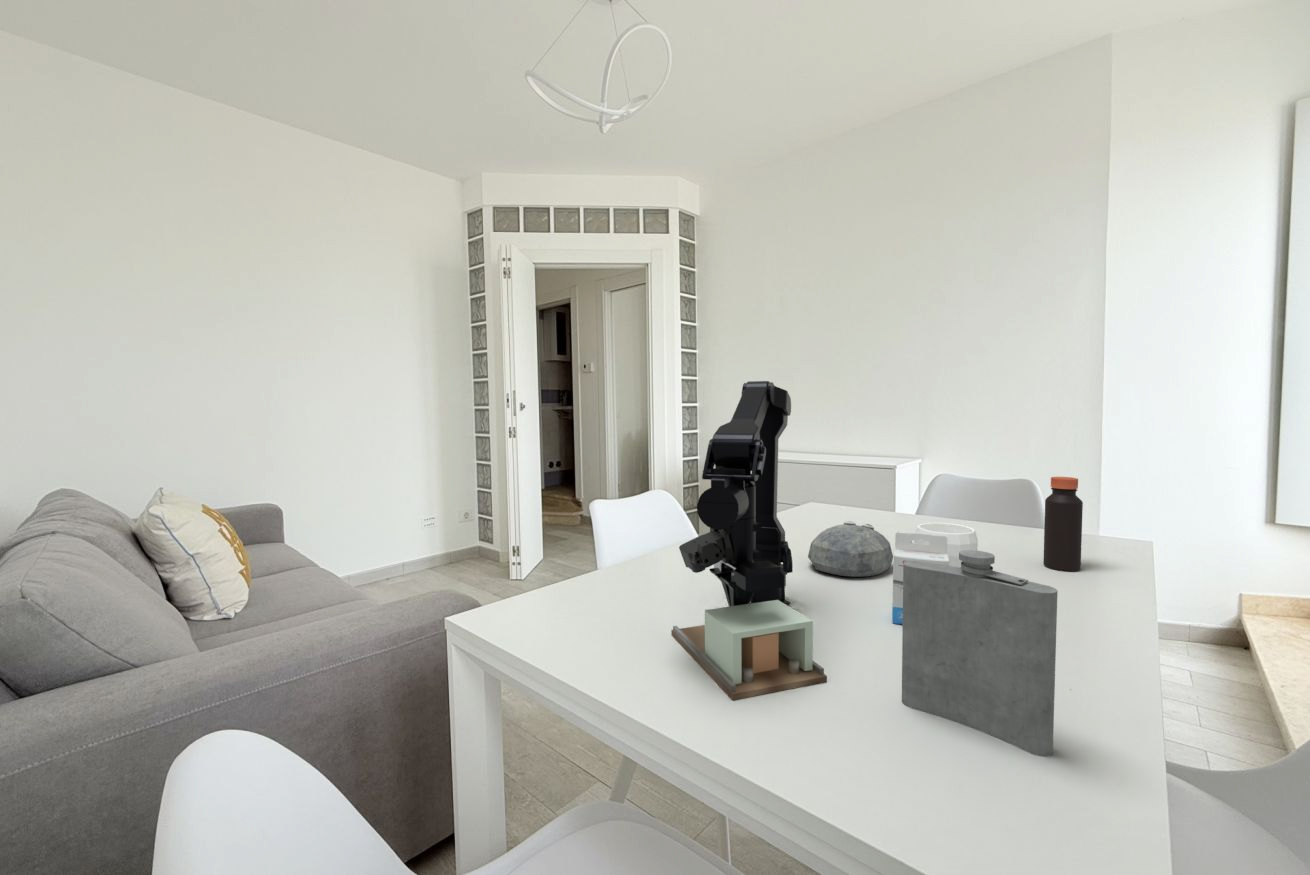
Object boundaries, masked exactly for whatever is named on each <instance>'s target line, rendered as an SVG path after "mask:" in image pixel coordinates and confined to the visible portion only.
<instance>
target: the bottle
mask: <svg viewBox="0 0 1310 875" xmlns="http://www.w3.org/2000/svg"><path fill="white" fill-rule="evenodd" d="M1078 489H1079V478H1077V477H1071V476H1052V477H1050V490H1051V491H1052V492H1051V493H1050V495H1048V496H1047V497H1046V498H1045V500H1044V530H1043V531H1044V532H1043V533H1044V536H1043V561H1042V562H1043V566H1044V567H1045V568H1048V567H1049V568H1048V569H1051V568H1052V569H1051V570H1055V569H1056V570H1055V571H1060V570H1063V571H1062V572H1078V571H1080V570H1081V568H1082V536H1083V534H1082V533H1083V511H1084V510H1083V508H1084V506H1083V505H1084V502H1083V501H1082V499H1081V498H1079V496H1078V495H1077V492H1078Z"/></svg>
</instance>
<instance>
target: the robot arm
mask: <svg viewBox="0 0 1310 875" xmlns="http://www.w3.org/2000/svg"><path fill="white" fill-rule="evenodd" d="M791 412H792V398H791V396H790V394H789V392H788V390H786V389H783V388H781V387H779V386H776V385H775V384H774V382H770V381H768V380H759V381H757V380H755V381H754V380H753V381H751V380H750V381H747V382H743V384H742V388H741V396H740V399H739V401H738V404H737V405H736V409H735V410H734V412H733V414H732V417H731V420H730V421H729V422H726V423H724V424H722V425H720V426H719V427H718V428H717V430H715V432H714V434H713V436H712V438H711V439H710V440H709V442H708V444H707V450H706V455H705V460H704V463H703V464H704V465H703V470H702V476H701V478H702V480H704V481H705V480H706V481H707V480H709V481H710V487H709V488H707V489H706V490H704V491H703V492H702V493H701V495H699V497H698V500H697V504H696V510H697V515H698V518H699V519H700V521H701V522H702V523H703V524H704V525H705V526H706V527H708V528H709V532H706V533H704V534H701V535H699V536H697V537H695V538H692V539H690V540H688V541H687V542H684V543H682V544H681V545H679V548H678V549H679V551H680V554H681V557H682V560H683V562H684V565H685V567H686V568H689V569H690V570H691V571H692V573H696V574H698V573H701V572H704V571H705V570H706V569H707V568H709V571H710V573H712V574H713V575H714V577H715V578H717V579H718V580H719V581H720V582H721V585H722V588H723V591H724V593H725V599H726V602H727V604H728V607H730V606H737V605H744V604H751V603H758V602H766V601H773V600H779V601H781V602H782V603H784V604H786V605H787V606H789V605H790V603H791V602H790V601H789V600H787V599H786V586H787V575H788V574H790V573H793V570H794V569H793V564H794V563H793V556H792V550H791V548H790V547H789V542H788V541H787V540H786V531H785V529H784V527H783V526H782V524H781V522H780V520H779V518H778V515H777V514H778V513H777V512H778V474H779V473H778V471H779V439H780V437H781V435H782V434H783V433H784V431H785V429H786V427H787V426H788V421H789V420H788V418H789V417H788V416H791ZM714 467H715V468H714ZM712 566H713V568H710V567H712Z"/></svg>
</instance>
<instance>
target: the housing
mask: <svg viewBox="0 0 1310 875" xmlns="http://www.w3.org/2000/svg"><path fill="white" fill-rule="evenodd" d="M813 623H814V621H813V620H812V619H811V618H809V617H807V616H806V615H804V614H802V613H800V612H798V611H797V610H795V609H794V608H792V607H790V606H789V605H786V604H784V603H782V602H781V601H779V600H773V601H766V602H758V603H748V604H744V605H737V606H730V607H729V606H723V607H717V608H710V609H704V625H705V655H706V656H707V657H708V658H709V659H710V660H711V661H712V662H713V663H714V664H715V665H716V666H717V667H718V668H719V669H720V670H721V671H722V672H723V673H724V674H725V675H726V676H727V677H728V678H729V679H730V680H731V681H732V682H733V683H734V684H740V683H742V666H741V638H746V637H752V636H758V635H764V634H771V633H779V652H781V653H782V654H783V655H785V656H786V657H787V658H788V659H797V660H798V661H799V667H800V668H802V669H803V670H804V671H809V670H813V661H814V659H813V658H814V656H813V655H814V652H813V651H814V650H813V649H814V647H813V643H814V639H813V637H814V630H813V629H814V626H813V625H814V624H813Z"/></svg>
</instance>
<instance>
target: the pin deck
mask: <svg viewBox="0 0 1310 875" xmlns="http://www.w3.org/2000/svg"><path fill="white" fill-rule="evenodd" d="M670 630H671V631H670V632H671V636H672V637H673V638H674V639H675V640H676V641H677V642H678V644H679V645H680V646H681V647H682V648H683V649H684V650H685V651H686V652H687V653H688V654H689V655H690V656H691V658H692V659H694V661H695V662H696V663H697V664H698V665H699V666H700V668H702V669H703V670H704V672H705V673H706V674H707V675H708V676H709V677H710V678H711V679H712V680H713V681H714V682H715V683H716V684H717V686H718V687H720V689H722V690H723V692H724V693H725V694H726V695H727V696H728V697H729V698H730V699H731V700H732V701H735V700H736V701H737V700H741V699H747V698H751V697H756V696H757V697H758V696H762V695H767V694H771V693H777V692H782V691H786V690H790V689H792V690H793V689H796V688H801V687H807V686H811V685H817V684H822V683H827V682H828V680H827V679H828V676H827V675H826V674H825V668H824V667H823V666H821V665H820V664H818V663H817V662H816V661H814V660H813V670H809V671H804V670H803V669H802V668H800V667H799V661H798V660H797V659H788V658H787V657H786V656H785V655H783V654H782V653H781V652H779V669H774V670H769V671H764V672H759V673H753V669H752V668H750V667H745V666H744V665H743V664H742V663H741V666H742V683H740V684H734V683H733V682H732V681H731V680H730V679H729V678H728V677H727V676H726V675H725V674H724V673H723V672H722V671H721V670H720V669H719V668H718V667H717V666H716V665H715V664H714V663H713V662H712V661H711V660H710V659H709V658H708V657H707V656H706V655H705V624H702V625H701V624H700V625H695V626H689V627H688V626H687V627H681V628H680V627H679V626H678V625H672V629H670Z"/></svg>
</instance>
